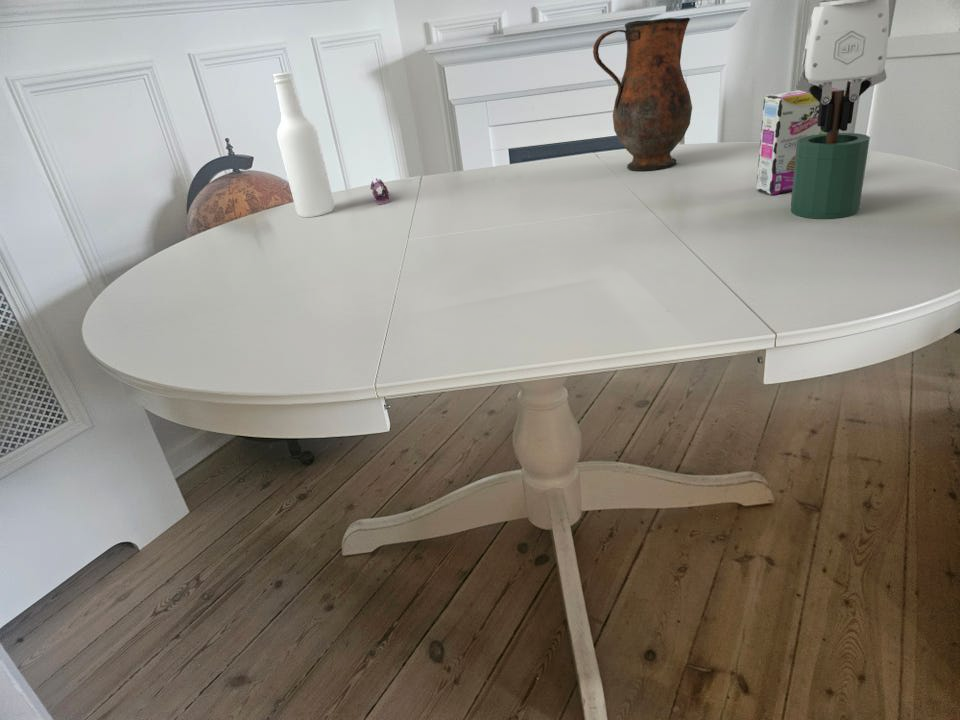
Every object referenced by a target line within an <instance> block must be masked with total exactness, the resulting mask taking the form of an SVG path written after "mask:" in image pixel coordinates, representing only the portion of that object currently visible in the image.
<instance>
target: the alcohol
mask: <svg viewBox="0 0 960 720" xmlns="http://www.w3.org/2000/svg"><path fill="white" fill-rule="evenodd" d="M292 75H293V73H292V72H291V71H284V72H278V73H273V75H272V78H273V83H274V84H275V90H276V96H277V101H278V106H279V112H280V123H279V125H278V127H277V130H276V140H277V143H278V147H279V151H280V156H281V158H282V162H283V166H284V169H285V173H286V178H287V181H288V184H289V190H290V192H291V196H292V200H293V204H294V207H295V211H296V214H297V215H298V216H299V217H301V218H312V217H313V218H314V217H319V216H324V215H327V214H329V213H332V212H333V211H334V209H335V202H334V201H335V200H334V198H333V194H332V193H333V192H332V188H331V184H330V180H329V176H328V172H327V167H326V164H325V159H324V155H323V150H322V146H321V142H320V138H319V134H318V130H317V128H316V127H315V124H313V122H312V121H310V120H309V119H308V118H307V117H306V116H305V114H304V112H303V108H302V106H301V102H300V100H299V95H298V93H297V90H296V86H295V83H294V78H293V76H292Z"/></svg>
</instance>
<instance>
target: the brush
mask: <svg viewBox="0 0 960 720" xmlns="http://www.w3.org/2000/svg"><path fill="white" fill-rule="evenodd" d="M844 94H845V89H839V90H833V91H832V96H831V99H832V101H831V104H833V105H834V107H833V115H832V123H831V130H830V131H829V132H827V136H826V144H834V143H838V135H839V133H840V129H839V128H840V120H841V113H842V105H843V98H844Z"/></svg>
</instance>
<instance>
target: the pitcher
mask: <svg viewBox="0 0 960 720" xmlns="http://www.w3.org/2000/svg"><path fill="white" fill-rule="evenodd" d="M690 21H691V18H689V17H667V18H658V19H651V20H650V19H648V20H634V21H628V22H626V23H625V24H624V27H625V29H613V30H609V31H605V32H603V33H601V34H600V35H599V37H598V38H596V40H595V42H594V44H593V48H592V49H593V50H592V53H593V59H594V61H595V62H596V65H598V66H599V67H600V68H601V69H602V70H603V71H604V72H605V73H606V74H607V75H609V77H611V78H612V79H613V81H614V82H615V83H616V85H617V94H616V97H615V100H614V105H613V110H612V122H613V131H614V133H615V135H616V137H617V138H618V140H619V143H620V145H622V146H623V148H624V149H625V150H626V151H627V152H628V153H629V154H630V155H631V156H632V160H631V162H629V163H628V164H627V165H626V168H627V169H628V170H630V171H633V172H648V171H650V172H651V171H658V170H664V169H668V168H672V167H674V166H676V165H677V162H678V161H677V159H676V158H674V157H672V155H671V153H672V151H673V150H674V149H675V148H676V147H677V146H678V145H679V143H680V142H681V141H682V140H683V139H684V136H685V134H686V133H687V131H688V129H689V127H690V126H691V120H692V112H693V103H692V100H691V98H692V97H691V94H690V90H689V88H688V85H687V83H686V80H685V78H684V75H683V71H682V66H681V65H682V64H681V58H682V51H683V50H682V49H683V44H684V38H685V34H686V30H687V27H688V26H689V22H690ZM615 33H624V36H625V41H626V58H625V67H624V71H623V75H622V78H621V80H620V78H619V77H618V76H617V75H616V74H615V73H614V72H613V71H612V70H611V69H610V68H609V67H608V66H607V65H605V63H604V62H603V61H602V60H601V57H600V53H599V49H600V48H599V47H600V45H601V42H602V41H603V40H604V39H605V38H606V37H608V36H610V35H612V34H615Z"/></svg>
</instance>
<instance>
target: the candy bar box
mask: <svg viewBox="0 0 960 720" xmlns="http://www.w3.org/2000/svg"><path fill="white" fill-rule="evenodd" d="M833 90H840V88H836V87H832V89H831V96H832V91H833ZM819 104H820V102H818V101H817V100H816V99H815V98H814V97H813V96H812V95H811V94H810V93H807V92H803V91H800V90H791V91H786V92H779V93H771V94H766V95H764V97H763V108H762V119H761V130H760V142H759V153H758V162H757V163H758V164H757V175H756V184H755V185H756V187H755V190H756V191H758V192H760V193H764V194H766V195H769V196H773V195H778V194H784V193H790V192H792V188H793V178H794V168H795V158H796V148H797V141H798V140H799V139H800V138H804V137H807V136H812V135H818V134H827V132H823V131H822V130H821V129H820V126H818V125H817V121H818V112H819Z"/></svg>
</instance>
